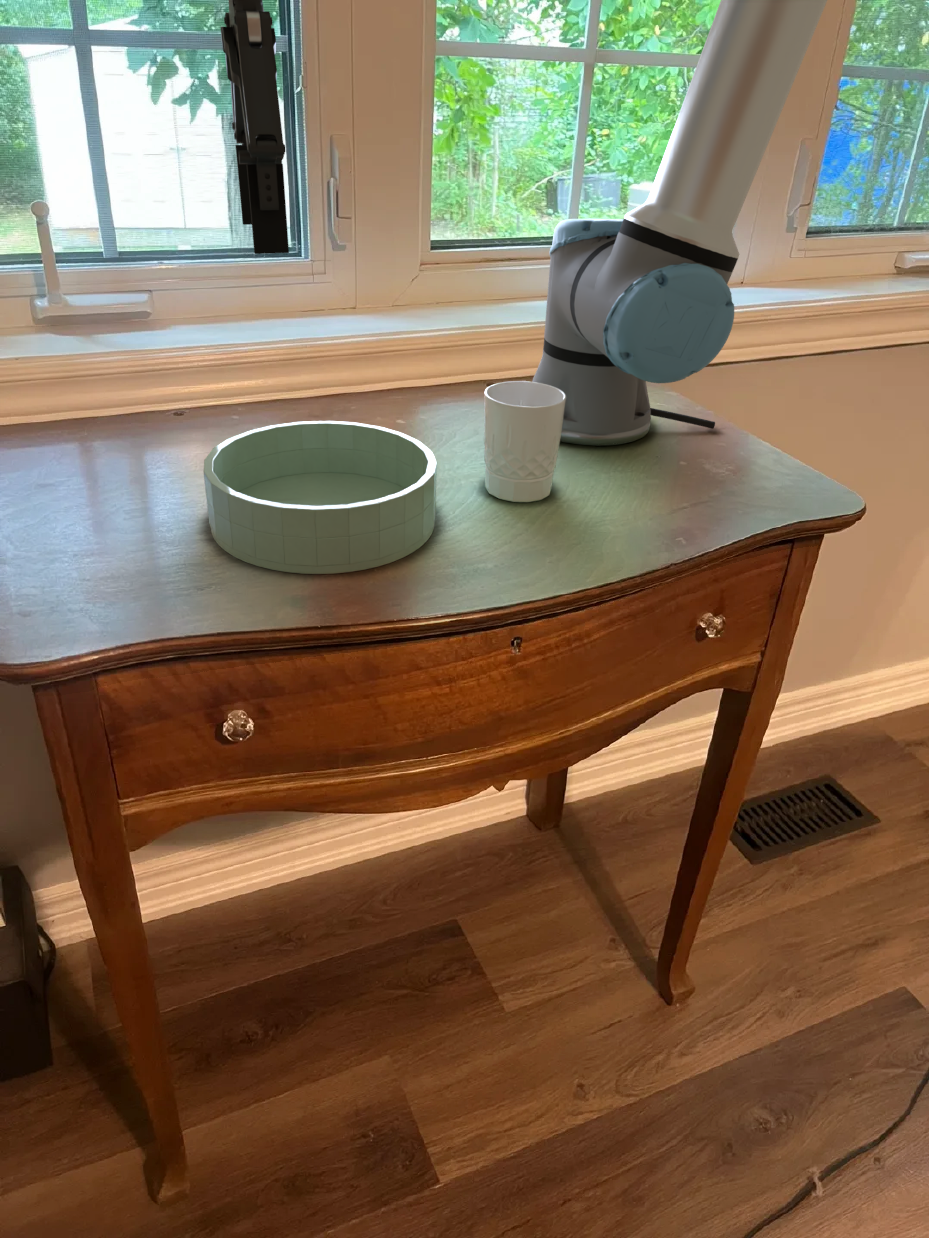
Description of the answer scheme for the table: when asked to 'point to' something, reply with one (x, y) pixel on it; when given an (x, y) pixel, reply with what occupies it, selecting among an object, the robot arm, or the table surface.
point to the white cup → (521, 439)
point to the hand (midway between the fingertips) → (264, 237)
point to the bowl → (321, 496)
